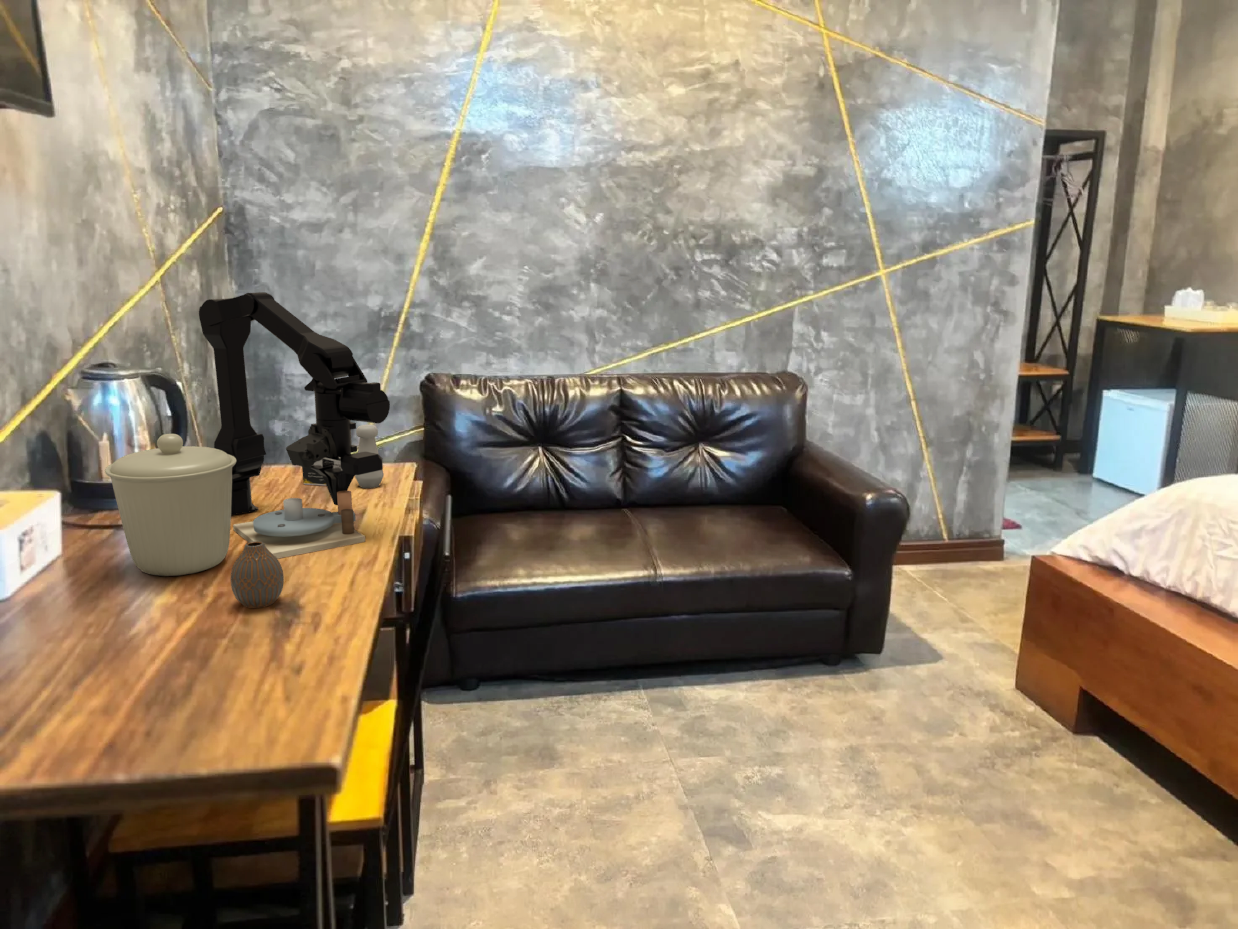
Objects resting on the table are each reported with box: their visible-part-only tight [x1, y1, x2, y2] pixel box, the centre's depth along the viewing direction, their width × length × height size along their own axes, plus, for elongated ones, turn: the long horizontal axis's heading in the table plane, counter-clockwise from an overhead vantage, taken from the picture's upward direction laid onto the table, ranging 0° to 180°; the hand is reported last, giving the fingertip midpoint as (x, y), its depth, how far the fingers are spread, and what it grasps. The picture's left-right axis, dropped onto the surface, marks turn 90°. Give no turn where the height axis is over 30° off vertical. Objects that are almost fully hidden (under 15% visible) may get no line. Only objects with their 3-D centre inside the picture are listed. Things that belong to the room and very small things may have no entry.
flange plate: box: [253, 490, 357, 537], centre depth 155 cm, size 16×13×5 cm
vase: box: [230, 541, 285, 609], centre depth 127 cm, size 7×7×9 cm
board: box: [232, 508, 366, 560], centre depth 157 cm, size 20×16×5 cm
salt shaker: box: [354, 424, 385, 489], centre depth 190 cm, size 6×6×13 cm
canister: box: [104, 433, 236, 577], centre depth 140 cm, size 18×18×21 cm
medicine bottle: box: [301, 428, 341, 487], centre depth 194 cm, size 7×7×12 cm
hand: (337, 504), depth 160 cm, fingers closed
